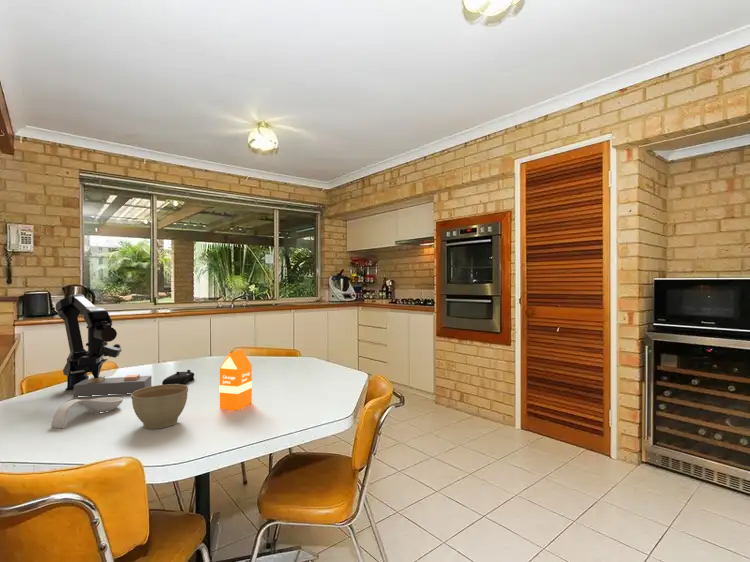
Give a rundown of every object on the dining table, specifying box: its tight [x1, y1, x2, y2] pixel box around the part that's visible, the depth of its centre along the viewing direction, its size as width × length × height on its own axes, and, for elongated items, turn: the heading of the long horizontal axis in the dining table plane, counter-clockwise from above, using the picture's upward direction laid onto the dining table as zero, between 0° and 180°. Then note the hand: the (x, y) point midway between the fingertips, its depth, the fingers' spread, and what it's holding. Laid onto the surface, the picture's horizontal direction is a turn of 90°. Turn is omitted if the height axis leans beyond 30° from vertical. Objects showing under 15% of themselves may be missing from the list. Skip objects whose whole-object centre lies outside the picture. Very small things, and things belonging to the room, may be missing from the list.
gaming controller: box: [161, 369, 195, 385], centre depth 182 cm, size 14×6×10 cm
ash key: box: [88, 376, 106, 383], centre depth 163 cm, size 4×4×4 cm
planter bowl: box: [130, 384, 189, 430], centre depth 128 cm, size 16×16×11 cm
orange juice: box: [219, 349, 253, 411], centre depth 146 cm, size 8×9×20 cm
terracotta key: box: [123, 374, 141, 381], centre depth 167 cm, size 4×4×4 cm
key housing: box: [73, 375, 152, 398], centre depth 165 cm, size 25×10×5 cm, turn 105°
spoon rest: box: [50, 396, 124, 429], centre depth 136 cm, size 24×12×7 cm, turn 173°
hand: (96, 377), depth 163 cm, fingers closed, pressing on ash key
